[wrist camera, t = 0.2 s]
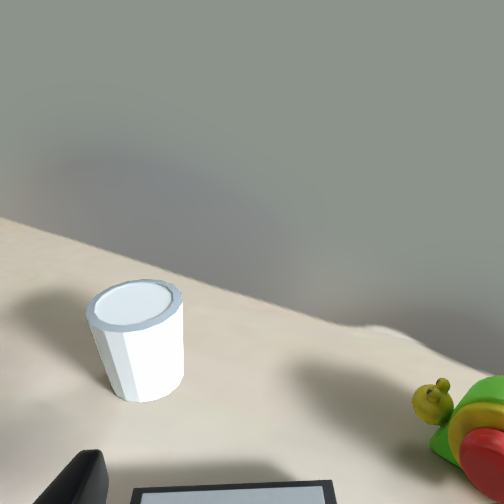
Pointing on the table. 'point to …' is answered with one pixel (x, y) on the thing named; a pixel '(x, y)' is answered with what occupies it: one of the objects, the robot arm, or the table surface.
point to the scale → (240, 493)
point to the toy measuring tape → (468, 430)
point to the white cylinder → (139, 337)
